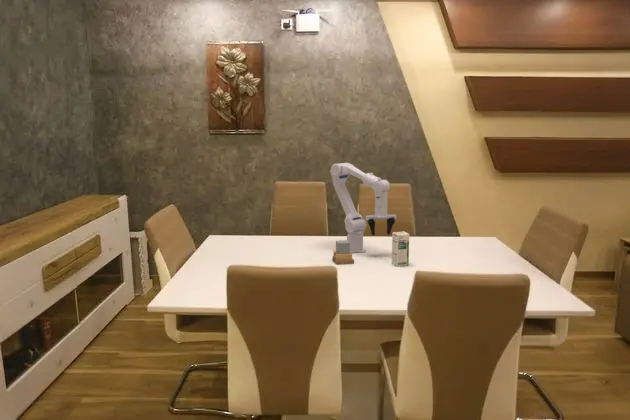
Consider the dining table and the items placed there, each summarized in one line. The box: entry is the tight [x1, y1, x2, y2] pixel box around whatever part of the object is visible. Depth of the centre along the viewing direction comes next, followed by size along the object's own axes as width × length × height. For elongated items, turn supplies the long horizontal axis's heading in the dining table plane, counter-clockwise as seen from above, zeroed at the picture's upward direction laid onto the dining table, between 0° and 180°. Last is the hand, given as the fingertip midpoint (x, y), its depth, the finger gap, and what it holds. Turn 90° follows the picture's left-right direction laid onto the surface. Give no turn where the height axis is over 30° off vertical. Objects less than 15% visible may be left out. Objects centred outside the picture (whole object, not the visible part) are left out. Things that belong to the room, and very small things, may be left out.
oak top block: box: [332, 250, 353, 260], centre depth 245 cm, size 7×7×2 cm
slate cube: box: [335, 239, 350, 254], centre depth 244 cm, size 5×5×5 cm
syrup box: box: [391, 231, 410, 267], centre depth 241 cm, size 6×6×14 cm
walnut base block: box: [331, 255, 355, 266], centre depth 245 cm, size 8×8×2 cm
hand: (380, 234), depth 254 cm, fingers open, 7 cm apart
